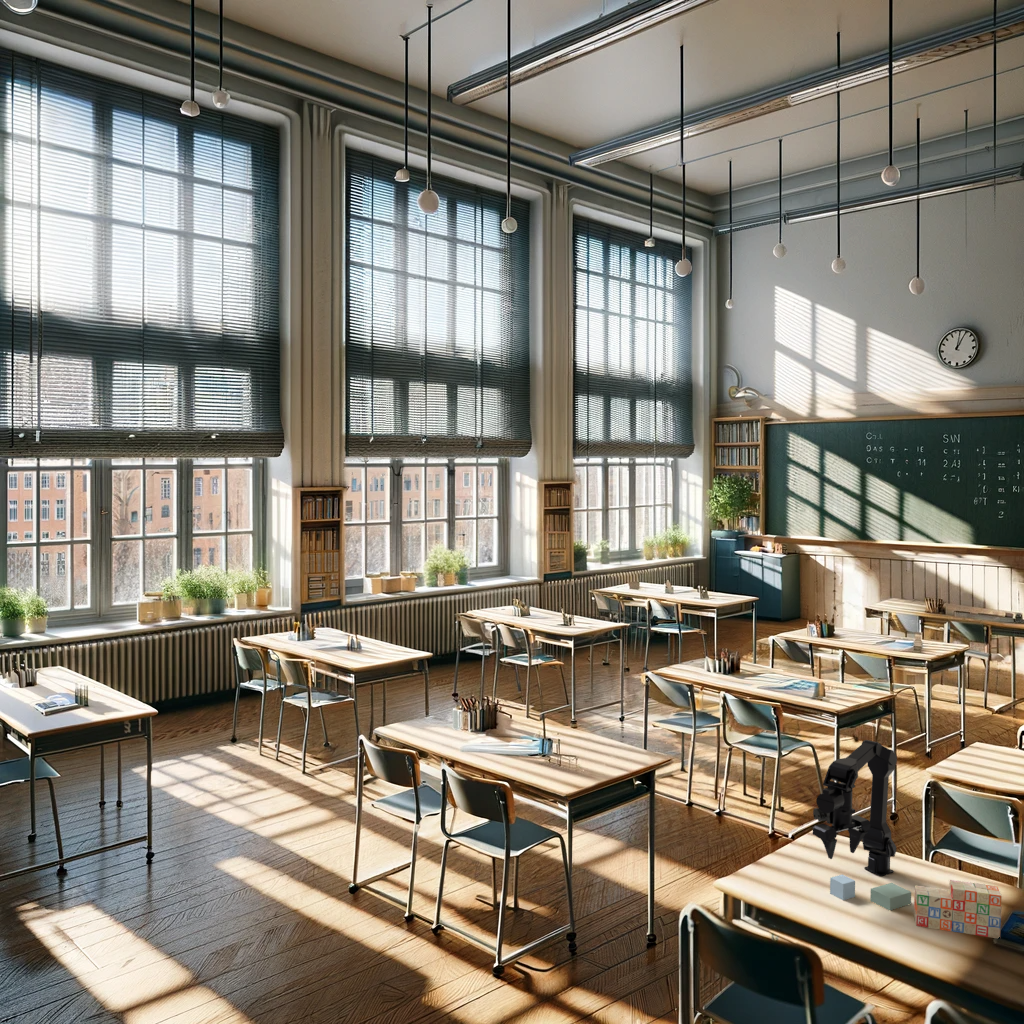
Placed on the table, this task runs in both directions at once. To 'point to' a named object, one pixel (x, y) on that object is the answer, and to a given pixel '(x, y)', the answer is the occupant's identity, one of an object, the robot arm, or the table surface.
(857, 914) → the table surface
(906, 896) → the pale green block
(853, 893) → the cube
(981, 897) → the stack of blocks
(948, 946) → the table surface
